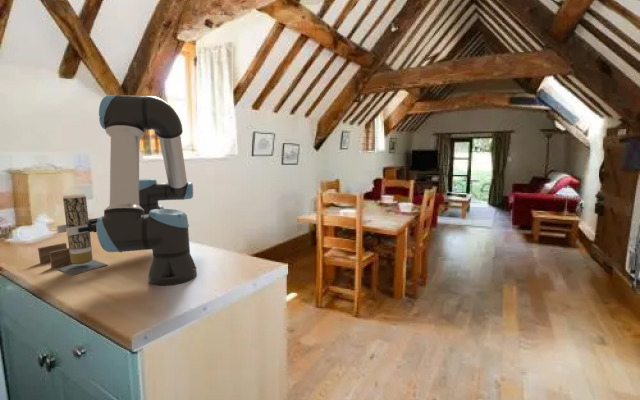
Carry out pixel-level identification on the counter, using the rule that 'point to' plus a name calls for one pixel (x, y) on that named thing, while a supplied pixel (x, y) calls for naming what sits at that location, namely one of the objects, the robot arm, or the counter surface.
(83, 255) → the paper tube
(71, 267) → the mat
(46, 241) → the counter surface
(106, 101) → the robot arm
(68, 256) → the board
